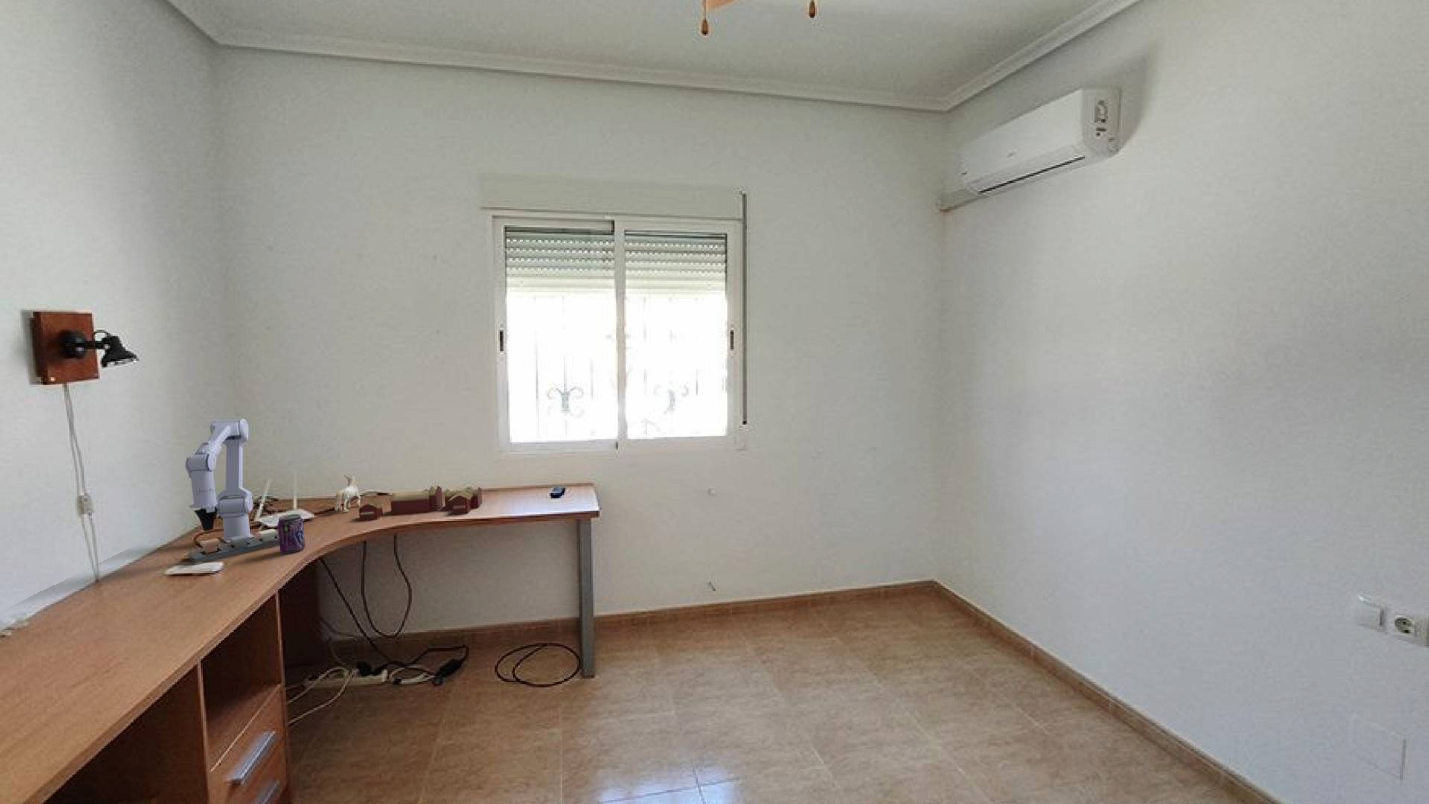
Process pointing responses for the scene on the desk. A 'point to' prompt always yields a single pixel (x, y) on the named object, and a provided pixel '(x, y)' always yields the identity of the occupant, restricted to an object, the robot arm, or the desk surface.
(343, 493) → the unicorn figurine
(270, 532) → the off-white block
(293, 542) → the beverage can
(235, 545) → the light grey block
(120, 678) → the desk surface
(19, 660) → the desk surface
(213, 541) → the terracotta key
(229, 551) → the panel
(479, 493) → the toy houses
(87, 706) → the desk surface
